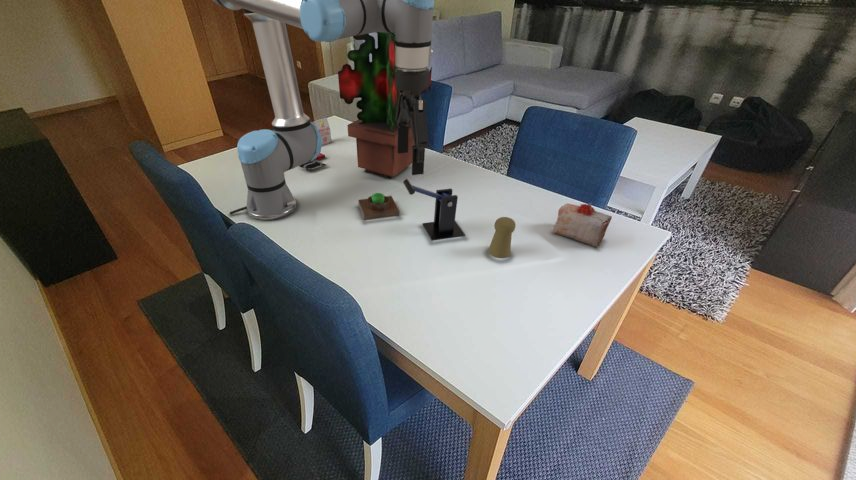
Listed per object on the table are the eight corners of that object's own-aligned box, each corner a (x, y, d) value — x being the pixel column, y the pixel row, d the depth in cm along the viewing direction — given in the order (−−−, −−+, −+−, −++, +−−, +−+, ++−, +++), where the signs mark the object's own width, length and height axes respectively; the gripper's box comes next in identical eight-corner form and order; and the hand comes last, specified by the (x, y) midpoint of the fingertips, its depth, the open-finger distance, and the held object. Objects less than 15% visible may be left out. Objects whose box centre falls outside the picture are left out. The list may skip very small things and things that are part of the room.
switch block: (364, 222, 118) (363, 210, 115) (358, 207, 125) (357, 194, 122) (399, 218, 119) (399, 205, 116) (391, 203, 127) (391, 190, 124)
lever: (407, 195, 99) (411, 186, 98) (401, 184, 103) (405, 176, 102) (452, 209, 105) (456, 201, 104) (444, 199, 109) (448, 191, 108)
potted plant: (425, 165, 149) (434, 27, 120) (396, 187, 135) (397, 37, 106) (378, 153, 158) (375, 23, 129) (346, 173, 144) (334, 31, 115)
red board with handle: (303, 174, 143) (336, 163, 151) (302, 167, 141) (335, 156, 149) (264, 152, 160) (295, 144, 168) (262, 146, 158) (294, 137, 166)
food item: (548, 233, 112) (557, 203, 106) (558, 222, 117) (567, 193, 110) (596, 250, 106) (609, 219, 99) (605, 238, 110) (618, 207, 104)
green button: (373, 204, 118) (372, 199, 117) (370, 198, 121) (370, 193, 120) (385, 203, 118) (385, 198, 117) (382, 197, 121) (382, 192, 120)
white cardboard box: (313, 143, 167) (310, 120, 161) (326, 140, 170) (324, 116, 164) (318, 146, 165) (315, 122, 158) (331, 142, 168) (329, 118, 162)
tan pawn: (505, 264, 101) (514, 228, 94) (483, 256, 104) (490, 221, 97) (512, 252, 105) (521, 217, 98) (491, 245, 108) (498, 211, 101)
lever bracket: (431, 243, 109) (434, 203, 101) (422, 226, 116) (424, 187, 107) (464, 238, 111) (470, 198, 102) (453, 222, 117) (458, 183, 109)
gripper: (449, 80, 74) (440, 182, 88) (413, 55, 93) (410, 143, 106) (411, 83, 73) (408, 186, 87) (382, 57, 91) (384, 145, 105)
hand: (409, 162), depth 96 cm, fingers open, 13 cm apart
